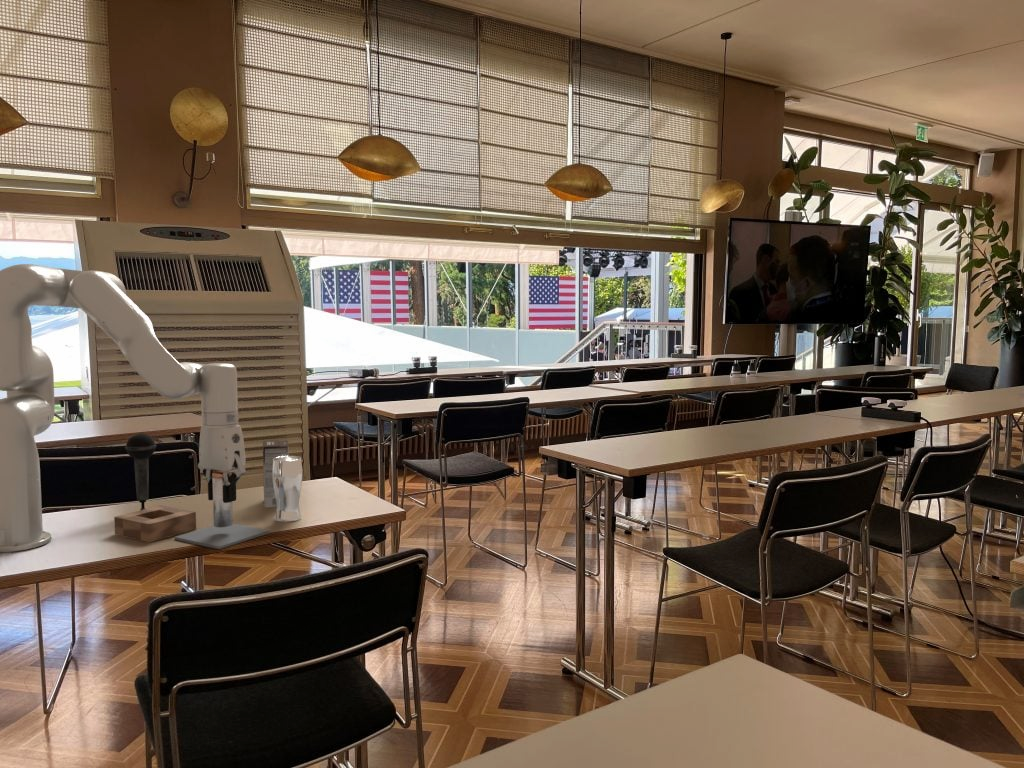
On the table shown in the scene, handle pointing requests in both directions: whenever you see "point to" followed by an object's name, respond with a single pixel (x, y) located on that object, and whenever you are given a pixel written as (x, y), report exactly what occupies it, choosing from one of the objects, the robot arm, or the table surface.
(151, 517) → the eye block
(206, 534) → the slate mat
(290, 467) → the beer glass
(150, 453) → the microphone
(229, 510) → the steel peg
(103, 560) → the table surface
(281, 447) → the coffee box
